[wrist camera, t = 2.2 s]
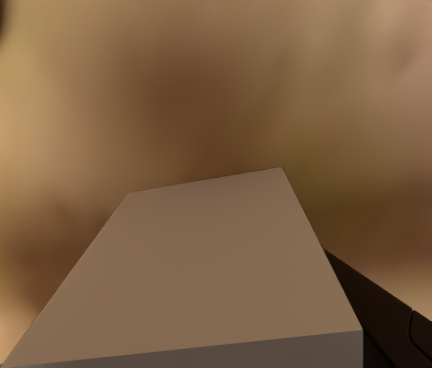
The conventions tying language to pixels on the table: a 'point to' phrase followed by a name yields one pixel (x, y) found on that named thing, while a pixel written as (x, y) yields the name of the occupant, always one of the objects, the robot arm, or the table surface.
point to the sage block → (199, 286)
